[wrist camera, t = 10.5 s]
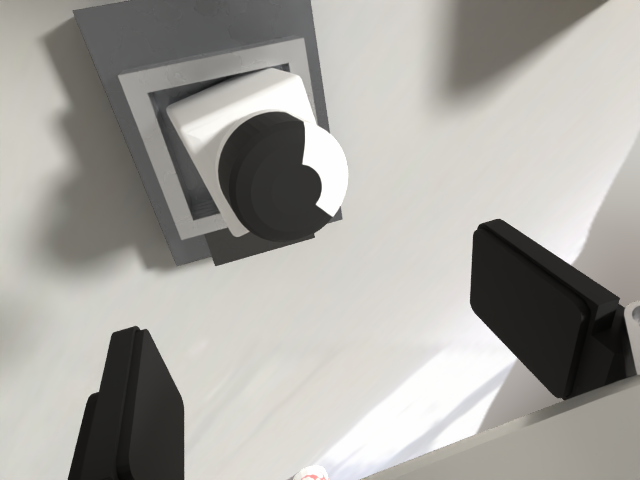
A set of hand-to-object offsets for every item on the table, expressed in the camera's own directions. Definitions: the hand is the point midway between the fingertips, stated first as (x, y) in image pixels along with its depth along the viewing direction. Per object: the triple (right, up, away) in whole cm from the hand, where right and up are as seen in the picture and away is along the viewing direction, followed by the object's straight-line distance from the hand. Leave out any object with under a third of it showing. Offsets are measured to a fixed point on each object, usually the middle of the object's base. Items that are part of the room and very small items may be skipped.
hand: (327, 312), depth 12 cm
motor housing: (-7, +11, +20) cm, 24 cm away
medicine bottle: (-6, +10, +18) cm, 21 cm away
